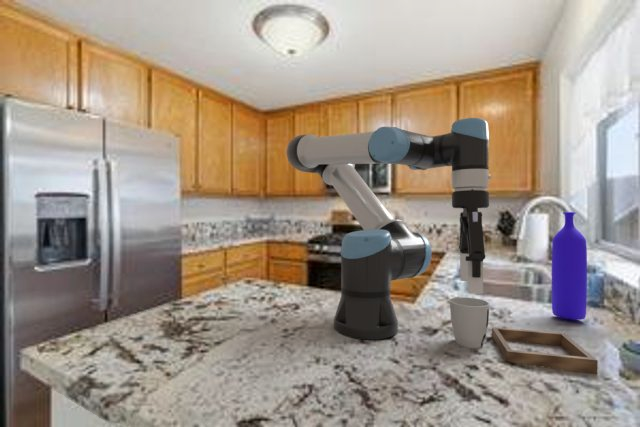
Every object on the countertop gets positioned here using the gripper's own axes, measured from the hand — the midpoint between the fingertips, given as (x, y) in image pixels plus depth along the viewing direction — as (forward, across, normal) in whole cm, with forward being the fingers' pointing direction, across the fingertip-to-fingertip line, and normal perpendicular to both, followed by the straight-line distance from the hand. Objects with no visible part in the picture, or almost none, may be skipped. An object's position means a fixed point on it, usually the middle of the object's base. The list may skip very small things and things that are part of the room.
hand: (470, 286), depth 77 cm
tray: (+14, 0, -13) cm, 19 cm away
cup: (+14, 0, 0) cm, 14 cm away
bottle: (+14, +33, -31) cm, 47 cm away
